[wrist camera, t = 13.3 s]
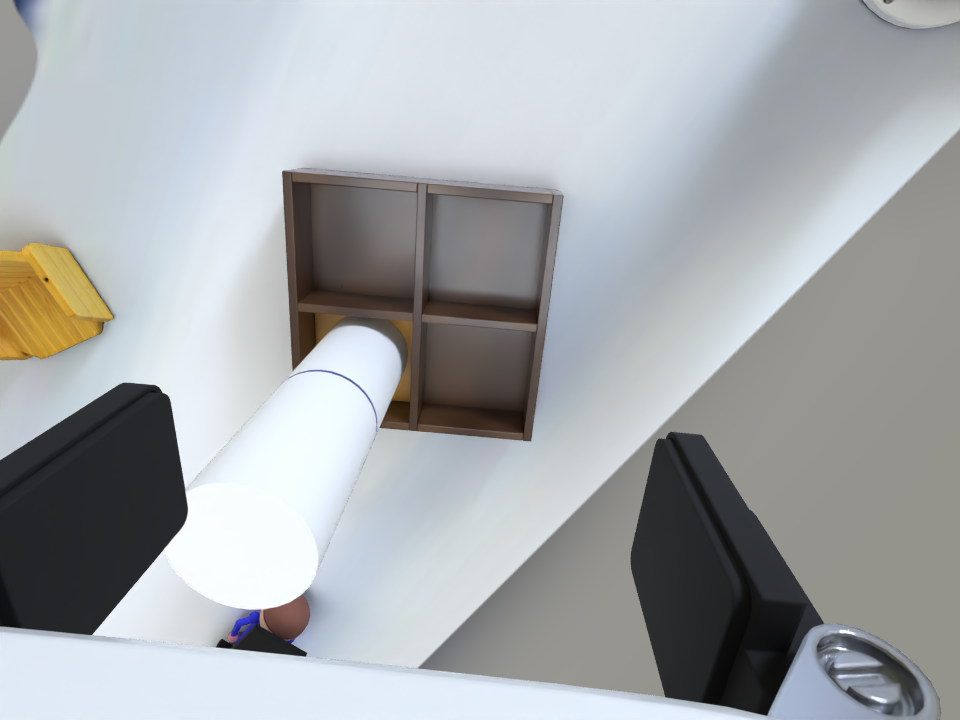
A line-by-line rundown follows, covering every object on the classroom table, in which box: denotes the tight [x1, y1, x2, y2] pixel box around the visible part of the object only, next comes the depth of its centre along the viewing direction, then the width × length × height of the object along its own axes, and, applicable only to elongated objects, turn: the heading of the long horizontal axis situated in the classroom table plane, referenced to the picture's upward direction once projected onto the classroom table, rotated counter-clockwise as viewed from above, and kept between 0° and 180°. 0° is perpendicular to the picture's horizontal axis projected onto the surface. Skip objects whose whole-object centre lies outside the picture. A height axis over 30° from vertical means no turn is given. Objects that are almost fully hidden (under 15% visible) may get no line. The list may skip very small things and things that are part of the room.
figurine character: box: [216, 595, 310, 657], centre depth 59 cm, size 7×8×15 cm
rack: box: [282, 168, 563, 441], centre depth 45 cm, size 20×20×5 cm
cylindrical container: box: [164, 316, 408, 610], centre depth 36 cm, size 7×7×25 cm
